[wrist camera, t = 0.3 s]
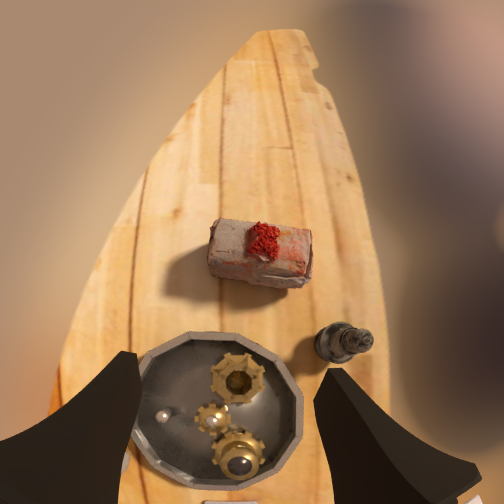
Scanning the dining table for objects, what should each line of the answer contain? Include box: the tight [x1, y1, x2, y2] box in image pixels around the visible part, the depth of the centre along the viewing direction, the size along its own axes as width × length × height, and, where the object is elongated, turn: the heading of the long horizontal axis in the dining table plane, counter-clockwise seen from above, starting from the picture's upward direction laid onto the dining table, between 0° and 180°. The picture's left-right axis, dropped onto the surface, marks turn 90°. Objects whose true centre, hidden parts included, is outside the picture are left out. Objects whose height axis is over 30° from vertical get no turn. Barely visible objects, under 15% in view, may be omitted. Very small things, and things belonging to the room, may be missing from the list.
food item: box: [207, 217, 313, 289], centre depth 36 cm, size 14×8×10 cm, turn 85°
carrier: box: [131, 331, 304, 491], centre depth 30 cm, size 24×24×7 cm
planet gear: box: [210, 352, 265, 404], centre depth 31 cm, size 7×7×5 cm
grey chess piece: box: [315, 322, 374, 364], centre depth 32 cm, size 6×6×12 cm
